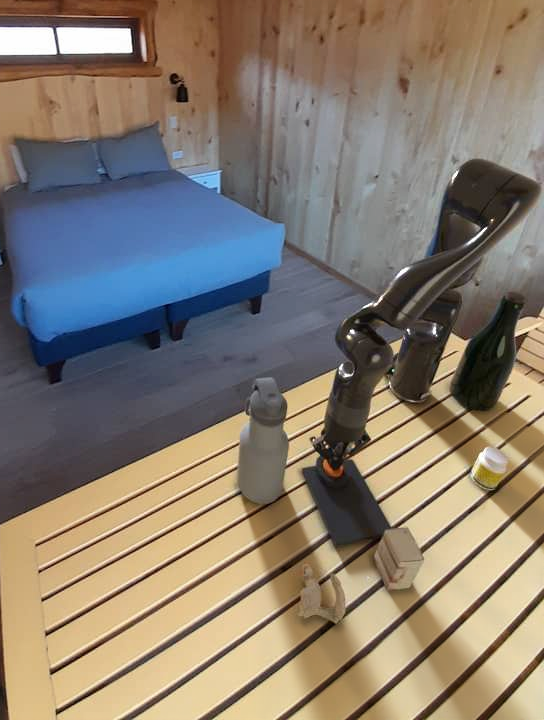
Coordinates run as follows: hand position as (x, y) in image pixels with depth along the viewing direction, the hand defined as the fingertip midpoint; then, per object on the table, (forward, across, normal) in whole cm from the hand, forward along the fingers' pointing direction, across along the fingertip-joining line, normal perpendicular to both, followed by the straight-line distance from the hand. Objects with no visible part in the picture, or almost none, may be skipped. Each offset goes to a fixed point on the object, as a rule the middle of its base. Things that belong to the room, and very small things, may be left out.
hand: (333, 466), depth 86 cm
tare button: (+2, 0, 0) cm, 2 cm away
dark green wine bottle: (+4, -47, -14) cm, 49 cm away
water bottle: (+4, +16, -2) cm, 17 cm away
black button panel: (+4, 0, +5) cm, 7 cm away
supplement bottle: (+4, -32, +6) cm, 33 cm away
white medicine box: (+4, -2, +18) cm, 19 cm away
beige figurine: (+4, +14, +20) cm, 25 cm away
